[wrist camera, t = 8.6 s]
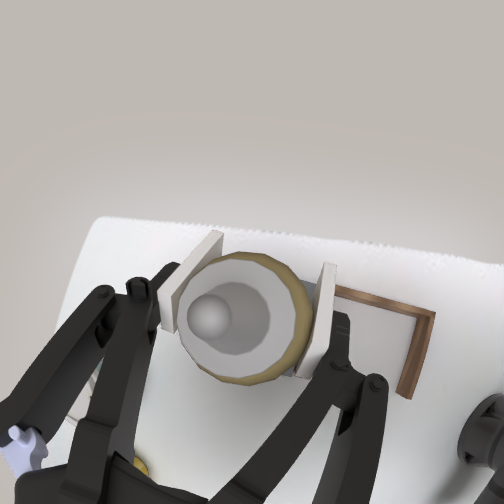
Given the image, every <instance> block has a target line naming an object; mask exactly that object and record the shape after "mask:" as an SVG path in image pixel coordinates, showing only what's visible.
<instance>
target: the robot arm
mask: <svg viewBox="0 0 504 504" xmlns="http://www.w3.org/2000/svg"><path fill="white" fill-rule="evenodd" d="M223 236H224V233H222V232H219V231H215V230H212V231H211V232H210V233H209V235H208V236H207V237H206V238H205V239H204V240H203V241H202V242H201V243H200V244H199V245H198V246H197V247H196V248H195V249H194V251H193V252H192V253H191V254H190V255H189V256H188V257H187V258H186V259H185V260H184V261H183V262H182V264H179V263H176V262H171V263H169V264H167V265H165V266H164V267H163V268H162V269H161V270H160V271H159V272H158V273H157V275H155V277H154V278H153V279H152V280H151V281H149V280H148V279H146V278H144V277H134V278H131V279H130V280H128V281H127V282H126V289H127V295H123V294H116V293H115V290H114V288H113V287H111V286H110V285H100V286H98V287H96V288H95V289H94V290H93V291H92V292H91V293H90V294H89V295H88V296H87V297H86V298H85V299H84V301H83V302H82V303H81V304H80V305H79V306H78V307H77V309H76V310H75V311H74V312H73V313H72V314H71V315H70V317H69V318H68V319H67V320H66V321H65V323H64V324H63V325H62V326H61V327H60V329H59V330H58V331H57V332H56V333H55V335H54V336H53V337H52V338H51V340H50V341H49V342H48V343H47V345H46V346H45V347H44V349H43V350H42V351H41V352H40V354H39V355H38V356H37V358H36V359H35V360H34V362H33V363H32V364H31V366H30V367H29V369H28V370H27V371H26V372H25V374H24V375H23V377H22V378H21V380H20V381H19V382H18V384H17V385H16V387H15V388H14V390H13V391H12V393H11V394H10V396H8V397H7V398H6V399H5V400H3V401H2V402H0V451H1V453H2V455H3V457H4V458H5V460H6V462H7V464H8V465H9V467H10V469H11V470H12V472H13V473H14V475H15V476H16V478H17V481H16V484H15V504H263V503H264V502H265V500H266V498H267V497H268V495H269V494H270V493H271V492H272V491H273V489H274V488H275V487H276V486H277V484H278V483H279V482H280V481H281V479H282V478H283V477H284V475H285V474H286V473H287V472H288V470H289V469H290V468H291V466H292V465H293V463H294V462H295V461H296V459H297V458H298V457H299V455H300V454H301V452H302V451H303V449H304V448H305V447H306V445H307V444H308V442H309V441H310V439H311V438H312V436H313V435H314V433H315V431H316V430H317V428H318V427H319V425H320V424H321V422H322V420H323V419H324V417H325V416H326V414H327V412H328V411H329V409H330V407H331V405H332V404H333V405H334V406H336V407H338V408H340V409H341V410H340V414H339V419H338V422H337V426H336V430H335V434H334V438H333V441H332V445H331V448H330V451H329V455H328V458H327V461H326V464H325V468H324V471H323V474H322V477H321V480H320V482H319V485H318V488H317V491H316V494H315V496H314V499H313V502H312V504H369V501H370V498H371V494H372V490H373V486H374V482H375V477H376V473H377V468H378V463H379V458H380V453H381V447H382V441H383V435H384V428H385V420H386V412H387V403H388V392H389V386H388V382H387V380H386V379H385V378H384V377H383V376H381V375H379V374H375V373H372V374H369V375H368V376H365V375H363V374H361V373H359V372H358V371H356V370H355V369H354V368H353V367H352V366H351V362H350V361H349V358H348V355H349V338H350V336H349V335H350V320H349V318H348V316H347V314H345V313H341V312H337V311H334V310H333V304H334V292H335V280H336V265H335V264H331V263H328V262H324V265H323V268H322V271H321V274H320V277H319V279H318V282H317V285H316V288H315V290H314V293H313V296H312V302H311V307H312V310H313V318H312V328H311V335H310V339H309V342H308V344H307V346H306V348H305V350H304V351H303V353H302V355H301V357H300V358H299V362H298V366H297V371H296V375H295V376H298V377H302V378H306V379H309V380H310V378H311V377H312V380H311V381H310V382H309V384H308V385H307V387H306V388H305V390H304V391H303V393H302V394H301V395H300V397H299V398H298V400H297V401H296V402H295V404H294V405H293V406H292V408H291V409H290V410H289V412H288V413H287V414H286V416H285V417H284V418H283V420H282V421H281V422H280V424H279V425H278V426H277V427H276V429H275V430H274V431H273V432H272V434H271V435H270V436H269V437H268V439H267V440H266V441H265V442H264V443H263V445H262V446H261V447H260V448H259V449H258V450H257V452H256V453H255V454H254V455H253V456H252V457H251V459H250V460H249V461H248V462H247V463H246V464H245V465H244V466H243V467H242V469H241V470H240V471H239V472H238V473H237V474H236V475H235V476H234V477H233V478H232V479H231V480H230V481H229V482H228V483H227V484H226V485H225V486H224V487H223V488H222V489H221V490H220V491H219V492H218V493H217V494H216V495H215V496H214V497H213V498H212V499H211V500H210V501H208V500H209V499H207V498H204V497H201V496H198V495H196V494H193V493H190V492H188V491H185V490H181V489H176V488H171V487H166V486H162V485H158V484H157V483H156V482H154V481H153V480H152V479H151V478H149V477H148V476H147V475H145V474H144V473H143V472H142V471H140V470H139V469H138V468H137V467H135V466H134V459H135V451H134V439H135V433H136V427H137V422H138V416H139V411H140V406H141V401H142V396H143V391H144V386H145V381H146V377H147V372H148V368H149V363H150V359H151V355H152V351H153V347H154V343H155V339H156V335H157V326H158V325H159V323H160V322H161V329H163V330H165V331H168V332H170V333H173V334H174V333H175V332H176V330H177V329H178V327H177V323H176V319H177V312H178V304H179V298H180V297H181V295H182V293H183V291H184V290H185V288H186V286H187V284H188V283H189V281H190V279H191V278H192V277H193V275H194V274H195V273H197V272H198V271H199V270H200V269H202V268H203V267H204V266H205V265H207V264H208V263H209V262H210V261H212V260H213V259H215V258H218V257H221V255H222V246H223ZM104 355H105V356H104ZM103 357H104V359H103V362H102V365H101V368H100V371H99V374H98V377H97V380H96V383H95V386H94V390H93V393H92V396H91V400H90V403H89V407H88V410H87V414H86V416H85V417H84V418H81V419H80V420H79V421H78V423H77V426H76V429H75V433H74V437H73V441H72V446H71V450H70V455H69V459H68V463H67V464H63V465H59V466H54V467H49V468H45V469H41V462H42V459H43V458H46V457H47V456H48V450H47V447H46V444H47V443H48V442H49V441H50V440H51V439H52V438H53V436H54V435H55V434H56V432H57V431H58V429H59V428H60V426H61V424H62V423H63V421H64V419H65V417H66V416H67V414H68V412H69V411H70V409H71V407H72V406H73V404H74V402H75V401H76V399H77V397H78V396H79V394H80V393H81V391H82V389H83V388H84V386H85V385H86V383H87V381H88V380H89V378H90V377H91V375H92V374H93V372H94V371H95V369H96V367H97V366H98V364H99V363H100V361H101V360H102V358H103ZM312 375H313V376H312ZM458 456H459V458H460V460H461V461H463V462H464V463H466V464H467V465H469V466H477V467H489V468H491V469H493V470H494V471H496V472H495V473H494V475H493V477H492V478H491V480H490V481H489V483H488V484H487V486H486V487H485V489H484V490H483V491H482V493H481V494H480V496H479V497H478V498H477V500H476V501H475V502H474V504H504V395H503V394H495V395H492V396H490V397H488V398H487V399H486V400H484V401H483V402H482V403H481V404H480V405H479V406H478V407H477V408H476V409H475V411H474V412H473V413H472V415H471V416H470V418H469V419H468V421H467V422H466V424H465V426H464V428H463V430H462V433H461V435H460V438H459V442H458Z"/></svg>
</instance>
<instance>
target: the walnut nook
mask: <svg viewBox="0 0 504 504" xmlns="http://www.w3.org/2000/svg"><path fill="white" fill-rule="evenodd" d="M334 296H338V297H342V298H345V299H349V300H353V301H356V302H360V303H364V304H367V305H371V306H375V307H379V308H382V309H386V310H390V311H394V312H397V313H401V314H405V315H409V316H413V317H417V321H416V325H415V330H414V334H413V338H412V341H411V345H410V349H409V352H408V356H407V359H406V362H405V366H404V369H403V372H402V375H401V378H400V381H399V384H398V387H397V390H396V393H397V394H399V395H401V396H402V397H404V398H406V399H410V400H411V399H412V396H413V393H414V390H415V388H416V385H417V382H418V379H419V376H420V372H421V369H422V366H423V363H424V359H425V356H426V352H427V348H428V345H429V341H430V337H431V332H432V328H433V324H434V319H435V314H436V312H433V311H429V310H426V309H422V308H418V307H415V306H411V305H407V304H404V303H400V302H396V301H393V300H389V299H385V298H382V297H378V296H374V295H371V294H367V293H364V292H360V291H356V290H353V289H349V288H346V287H342V286H338V285H335V292H334ZM298 362H299V360H298ZM297 366H298V363H297ZM297 366H296V369H295V374H296V371H297ZM296 377H298V376H296ZM300 378H302V377H300Z"/></svg>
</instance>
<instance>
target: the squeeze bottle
mask: <svg viewBox="0 0 504 504" xmlns="http://www.w3.org/2000/svg"><path fill="white" fill-rule="evenodd" d="M312 318H313V310H312V307H311V304H310V300H309V297H308V294H307V291H306V287H305V286H304V285H303V283H302V282H301V281H300V280H299V279H298V277H297V276H296V275H295V274H294V273H293V271H292V270H291V269H290V268H289V267H288V266H287V265H285V264H283V263H281V262H279V261H277V260H275V259H273V258H272V257H270V256H268V255H266V254H261V253H250V252H239V251H238V252H235V253H232V254H228V255H225V256H222V257H218V258H215V259H213V260H212V261H210V262H209V263H208V264H207V265H205V266H204V267H203V268H202V269H200V270H199V271H198V272H197V273H195V274H194V275H193V277H192V278H191V279H190V281H189V283H188V284H187V286H186V288H185V290H184V291H183V293H182V295H181V297H180V298H179V304H178V312H177V319H176V323H177V327H178V331H179V335H180V339H181V342H182V345H183V346H184V348H185V349H186V351H187V352H188V353H189V355H190V356H191V357H192V359H193V360H194V361H195V363H196V364H197V365H198V367H199V368H200V369H202V370H203V371H205V372H207V373H208V374H210V375H211V376H213V377H215V378H216V379H218V380H220V381H222V382H226V383H232V384H239V385H245V386H251V385H255V384H259V383H263V382H267V381H271V380H275V379H276V378H278V377H279V376H280V375H282V374H283V373H284V372H286V371H287V370H288V369H290V368H291V367H292V366H294V365H295V364H296V363H297V362H298V360H299V358H300V357H301V355H302V353H303V351H304V350H305V348H306V346H307V344H308V342H309V339H310V335H311V328H312Z"/></svg>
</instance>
